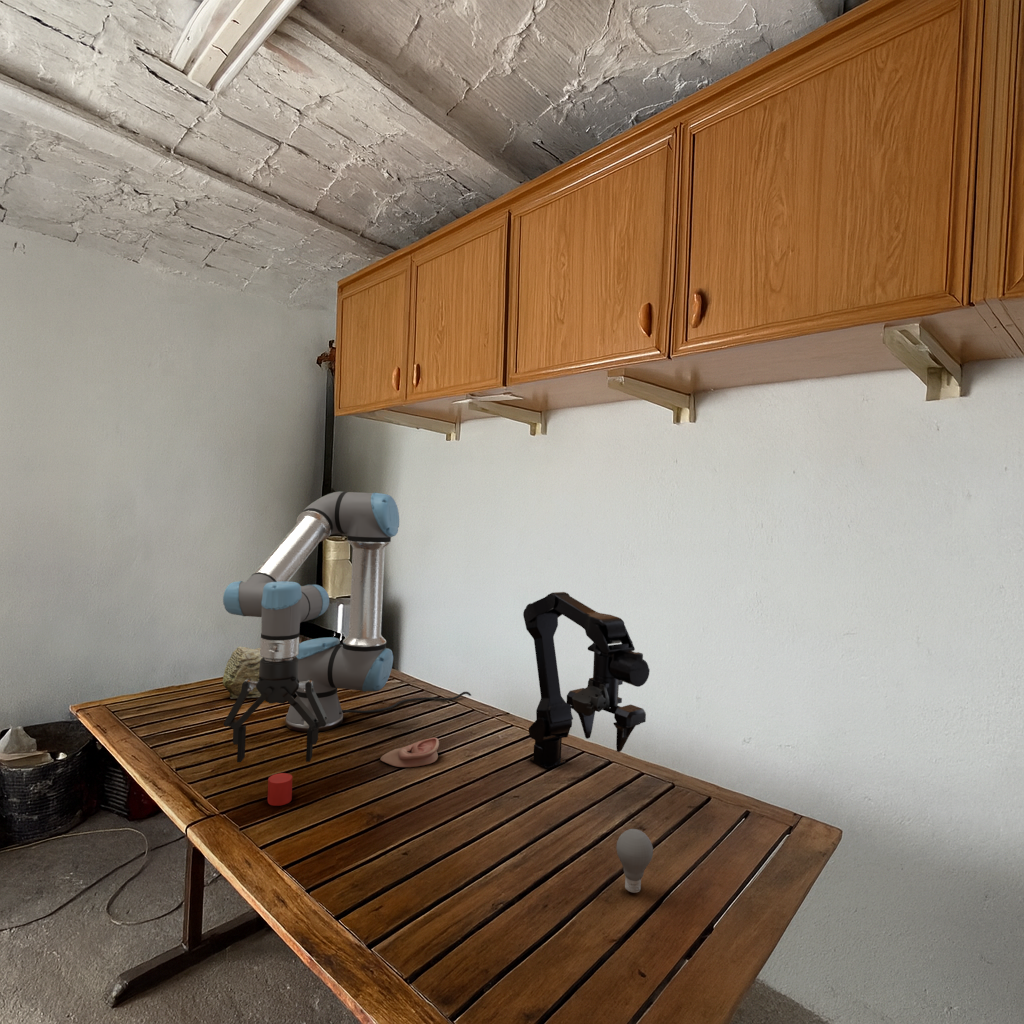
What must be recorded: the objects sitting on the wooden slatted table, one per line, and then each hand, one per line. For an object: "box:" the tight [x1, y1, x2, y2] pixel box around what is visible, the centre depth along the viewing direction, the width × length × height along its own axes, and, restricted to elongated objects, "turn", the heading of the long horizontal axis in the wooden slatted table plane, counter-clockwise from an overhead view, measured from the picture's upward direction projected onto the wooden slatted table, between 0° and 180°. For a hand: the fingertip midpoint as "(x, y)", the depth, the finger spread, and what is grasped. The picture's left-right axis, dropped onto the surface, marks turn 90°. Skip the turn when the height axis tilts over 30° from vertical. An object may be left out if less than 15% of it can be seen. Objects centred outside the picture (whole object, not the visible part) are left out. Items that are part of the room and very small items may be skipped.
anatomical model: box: [379, 737, 440, 768], centre depth 155 cm, size 13×4×12 cm
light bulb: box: [615, 828, 654, 894], centre depth 106 cm, size 6×6×10 cm
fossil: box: [222, 646, 263, 699], centre depth 198 cm, size 9×18×15 cm, turn 132°
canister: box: [267, 772, 293, 807], centre depth 131 cm, size 5×5×5 cm
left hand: (275, 759), depth 131 cm, fingers open, 13 cm apart
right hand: (603, 744), depth 140 cm, fingers open, 9 cm apart
